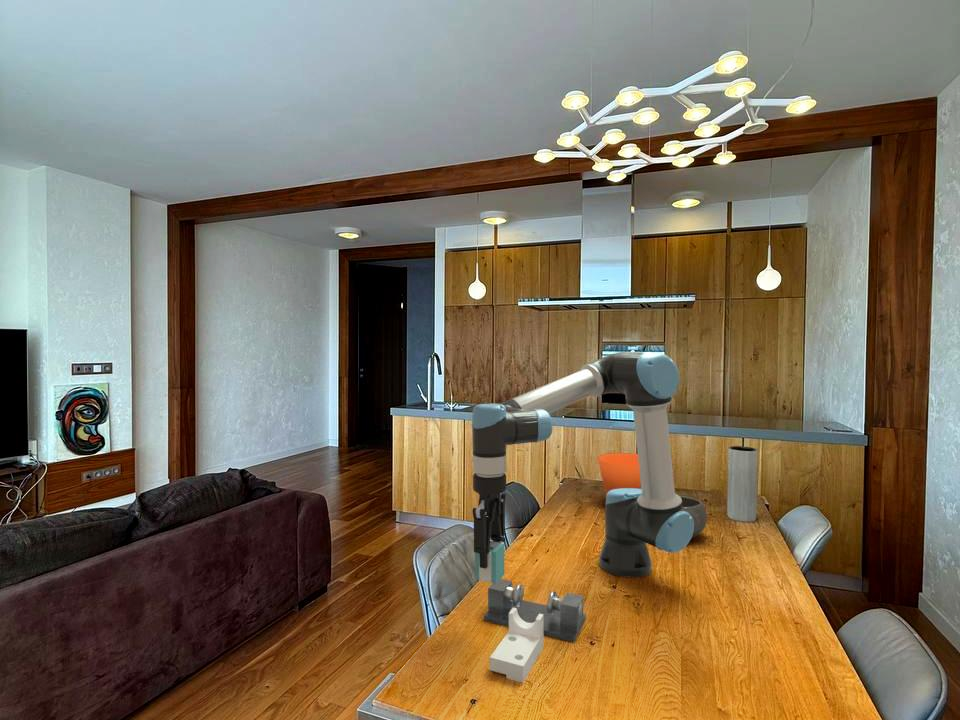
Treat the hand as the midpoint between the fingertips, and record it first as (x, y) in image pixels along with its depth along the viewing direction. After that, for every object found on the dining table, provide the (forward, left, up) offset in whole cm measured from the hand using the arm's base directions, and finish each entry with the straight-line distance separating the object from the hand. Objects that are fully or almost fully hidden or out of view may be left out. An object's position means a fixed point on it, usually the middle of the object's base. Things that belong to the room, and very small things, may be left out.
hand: (490, 575), depth 116 cm
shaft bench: (-7, -11, -14) cm, 19 cm away
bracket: (-9, +6, -14) cm, 18 cm away
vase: (-56, -116, -14) cm, 129 cm away
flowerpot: (-14, -112, -14) cm, 113 cm away
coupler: (0, 0, 0) cm, 0 cm away
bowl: (-35, -85, -14) cm, 93 cm away
